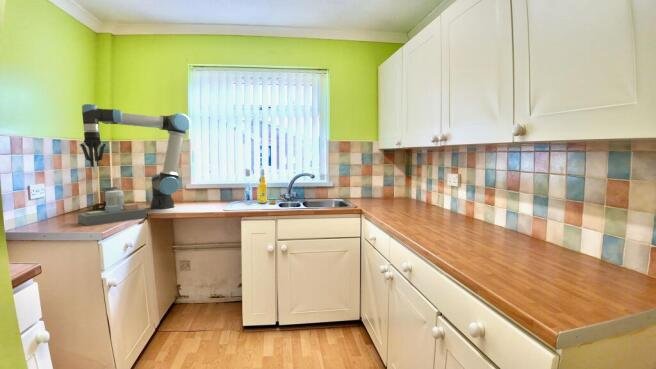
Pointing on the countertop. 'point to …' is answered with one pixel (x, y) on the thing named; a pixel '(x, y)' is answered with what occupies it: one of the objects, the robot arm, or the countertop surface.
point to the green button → (94, 212)
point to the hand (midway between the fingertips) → (95, 172)
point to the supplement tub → (114, 198)
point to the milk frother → (104, 197)
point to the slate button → (112, 208)
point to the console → (111, 217)
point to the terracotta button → (130, 206)
